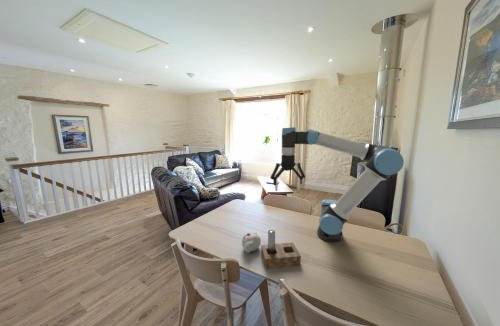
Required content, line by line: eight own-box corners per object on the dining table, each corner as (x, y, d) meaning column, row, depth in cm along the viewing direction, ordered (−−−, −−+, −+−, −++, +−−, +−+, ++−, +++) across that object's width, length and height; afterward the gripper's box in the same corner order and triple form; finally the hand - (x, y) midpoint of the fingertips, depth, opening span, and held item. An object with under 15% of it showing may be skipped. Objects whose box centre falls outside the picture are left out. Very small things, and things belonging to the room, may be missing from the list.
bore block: (292, 250, 114) (293, 242, 113) (300, 264, 102) (300, 256, 101) (261, 253, 112) (261, 245, 111) (265, 268, 100) (265, 259, 99)
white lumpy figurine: (246, 257, 108) (238, 245, 122) (265, 252, 112) (255, 241, 126) (245, 241, 107) (237, 230, 121) (264, 236, 111) (254, 227, 125)
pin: (274, 255, 108) (274, 229, 106) (275, 259, 105) (275, 233, 102) (267, 255, 108) (267, 230, 105) (269, 260, 105) (268, 233, 102)
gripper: (306, 152, 121) (305, 186, 125) (265, 154, 118) (265, 189, 122) (311, 154, 113) (310, 190, 117) (268, 156, 111) (268, 193, 115)
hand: (287, 189), depth 120 cm, fingers open, 13 cm apart
